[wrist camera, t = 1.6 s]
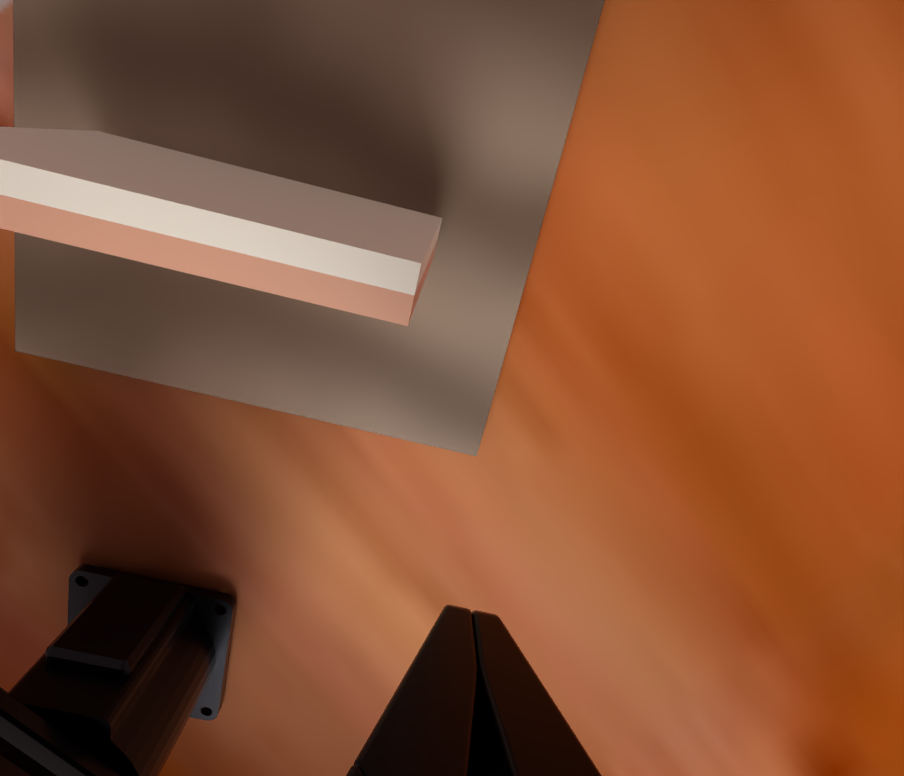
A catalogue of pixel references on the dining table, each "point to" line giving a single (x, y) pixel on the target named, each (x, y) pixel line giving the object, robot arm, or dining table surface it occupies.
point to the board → (316, 163)
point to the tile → (215, 220)
